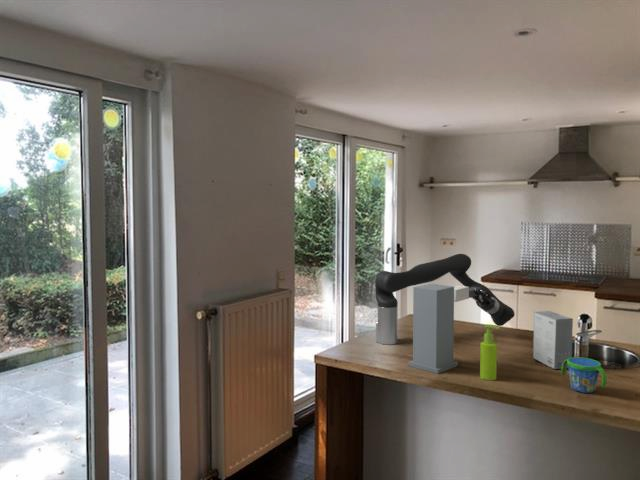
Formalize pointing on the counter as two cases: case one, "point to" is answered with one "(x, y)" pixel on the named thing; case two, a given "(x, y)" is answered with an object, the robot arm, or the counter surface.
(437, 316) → the grey rectangular pillar
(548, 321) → the hard drive box
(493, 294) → the robot arm
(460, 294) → the block
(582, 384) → the snack cup
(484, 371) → the soap dispenser
